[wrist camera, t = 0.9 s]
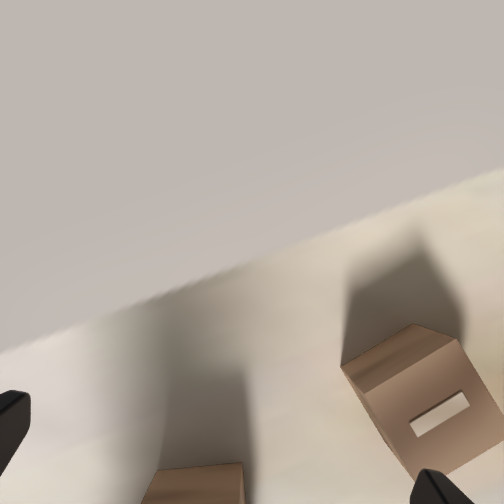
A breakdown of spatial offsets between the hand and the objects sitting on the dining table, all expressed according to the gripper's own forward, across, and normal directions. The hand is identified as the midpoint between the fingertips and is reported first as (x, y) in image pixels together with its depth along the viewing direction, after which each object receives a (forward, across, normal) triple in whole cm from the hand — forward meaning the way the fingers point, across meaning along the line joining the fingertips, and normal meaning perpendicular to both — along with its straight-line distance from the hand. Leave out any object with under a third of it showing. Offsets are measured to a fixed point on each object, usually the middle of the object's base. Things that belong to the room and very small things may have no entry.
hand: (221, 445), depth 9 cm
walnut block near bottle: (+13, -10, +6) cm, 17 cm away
